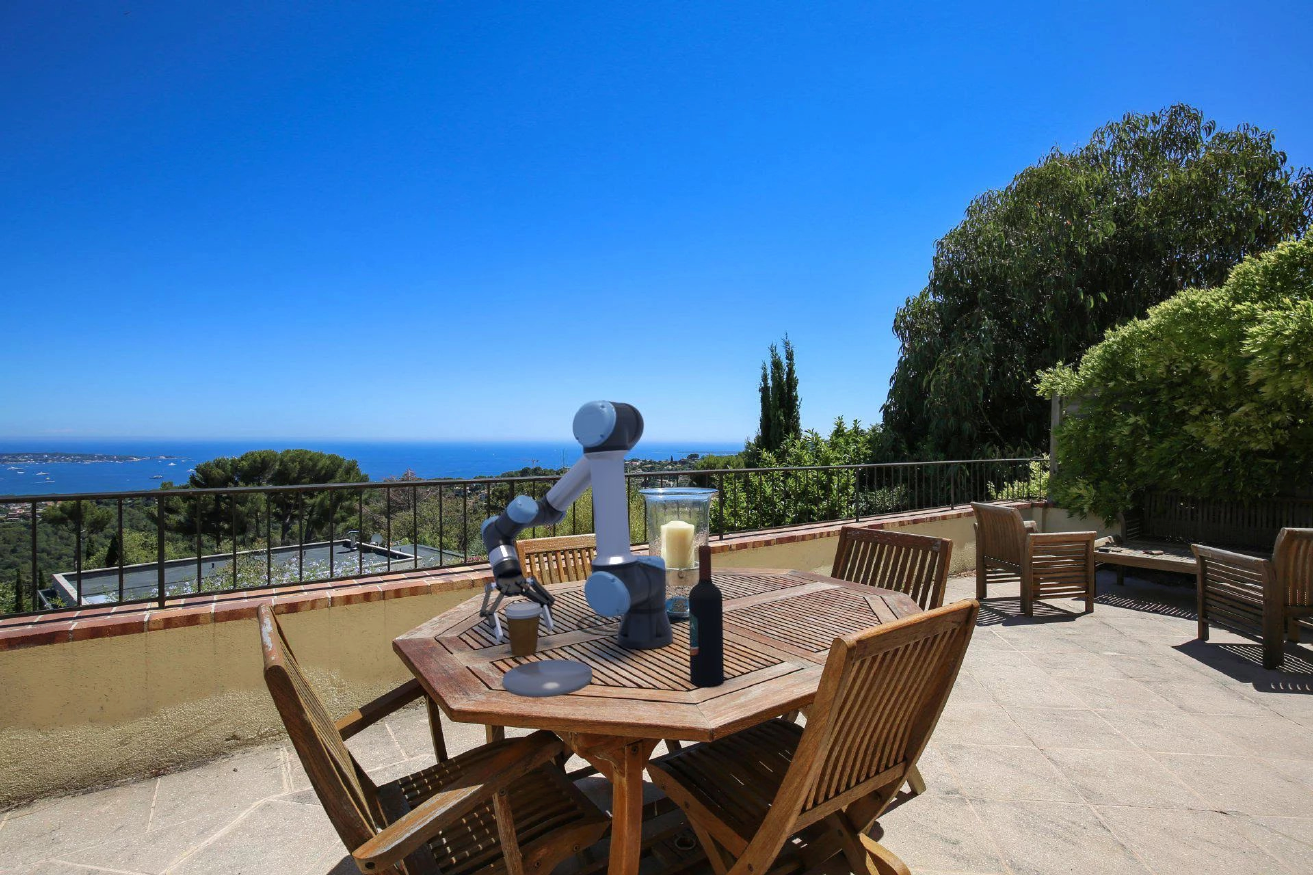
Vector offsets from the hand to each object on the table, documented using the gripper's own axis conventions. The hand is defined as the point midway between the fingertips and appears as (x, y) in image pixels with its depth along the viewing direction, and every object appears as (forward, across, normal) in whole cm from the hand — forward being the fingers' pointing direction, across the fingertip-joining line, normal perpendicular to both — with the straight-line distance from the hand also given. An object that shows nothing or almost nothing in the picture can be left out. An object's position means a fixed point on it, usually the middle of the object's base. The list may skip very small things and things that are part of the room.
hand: (526, 633), depth 159 cm
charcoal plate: (+18, +2, +10) cm, 20 cm away
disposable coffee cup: (+2, 0, -5) cm, 6 cm away
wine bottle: (+33, -27, +25) cm, 49 cm away
